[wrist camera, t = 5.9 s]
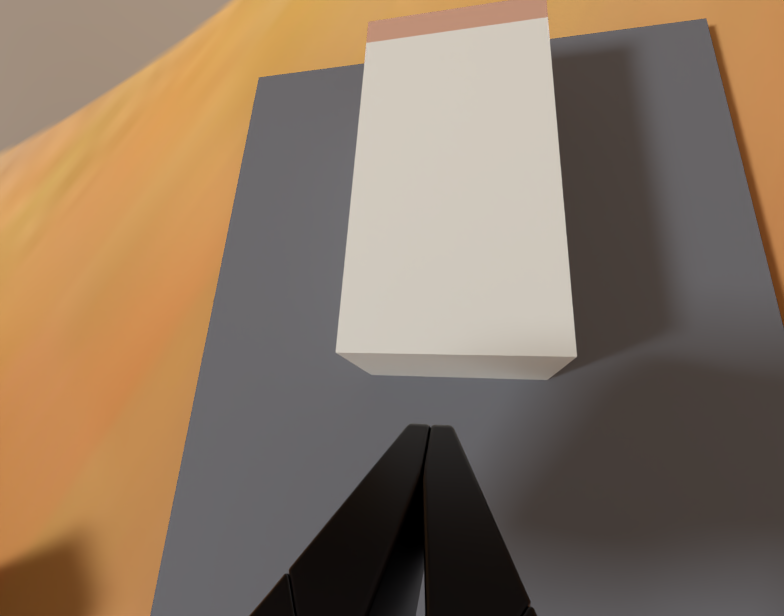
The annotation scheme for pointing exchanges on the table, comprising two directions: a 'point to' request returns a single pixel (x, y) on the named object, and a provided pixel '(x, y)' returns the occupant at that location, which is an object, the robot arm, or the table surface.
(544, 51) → the cream block
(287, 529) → the rubber mat
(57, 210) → the table surface
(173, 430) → the table surface
